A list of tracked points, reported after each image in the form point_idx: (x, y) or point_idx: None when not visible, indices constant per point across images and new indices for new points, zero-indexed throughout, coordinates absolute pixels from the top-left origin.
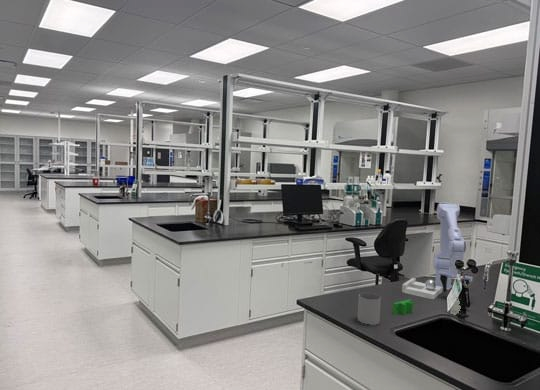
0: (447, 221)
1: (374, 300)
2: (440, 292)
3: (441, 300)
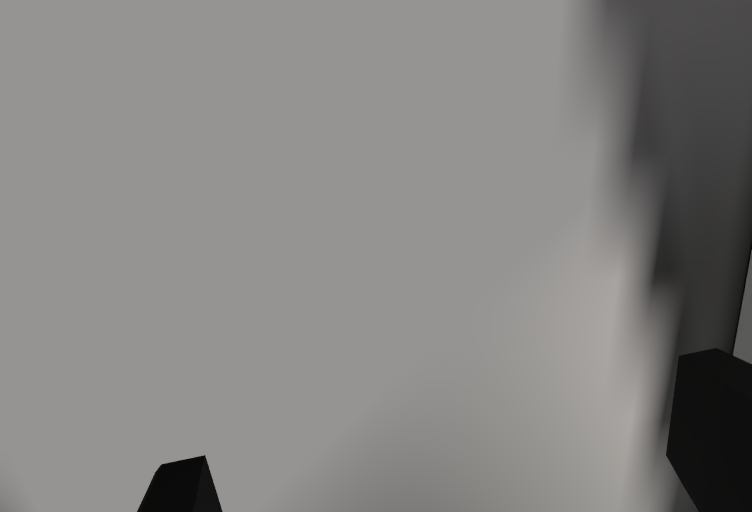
0: None
1: None
2: None
3: (622, 13)
